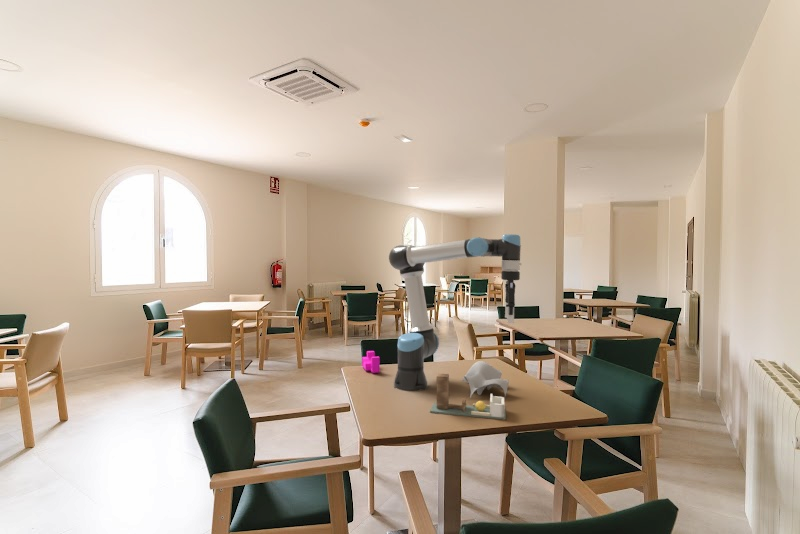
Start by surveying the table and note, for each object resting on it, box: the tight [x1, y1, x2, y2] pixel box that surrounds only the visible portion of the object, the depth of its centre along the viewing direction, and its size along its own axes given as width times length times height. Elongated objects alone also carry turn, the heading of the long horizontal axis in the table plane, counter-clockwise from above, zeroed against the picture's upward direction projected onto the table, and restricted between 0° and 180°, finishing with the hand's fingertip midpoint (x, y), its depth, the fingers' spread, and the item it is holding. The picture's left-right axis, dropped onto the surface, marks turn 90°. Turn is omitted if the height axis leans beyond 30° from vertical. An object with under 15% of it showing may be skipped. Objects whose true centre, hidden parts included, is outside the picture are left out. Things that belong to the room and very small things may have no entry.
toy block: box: [361, 350, 381, 374], centre depth 207 cm, size 15×6×8 cm, turn 15°
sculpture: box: [460, 360, 510, 398], centre depth 175 cm, size 25×19×10 cm
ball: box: [475, 400, 486, 411], centre depth 147 cm, size 4×4×4 cm
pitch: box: [429, 401, 507, 421], centre depth 148 cm, size 27×9×2 cm, turn 76°
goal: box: [489, 393, 505, 418], centre depth 145 cm, size 5×9×5 cm, turn 166°
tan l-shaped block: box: [436, 372, 467, 412], centre depth 149 cm, size 10×6×12 cm, turn 76°
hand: (509, 320), depth 171 cm, fingers open, 13 cm apart
